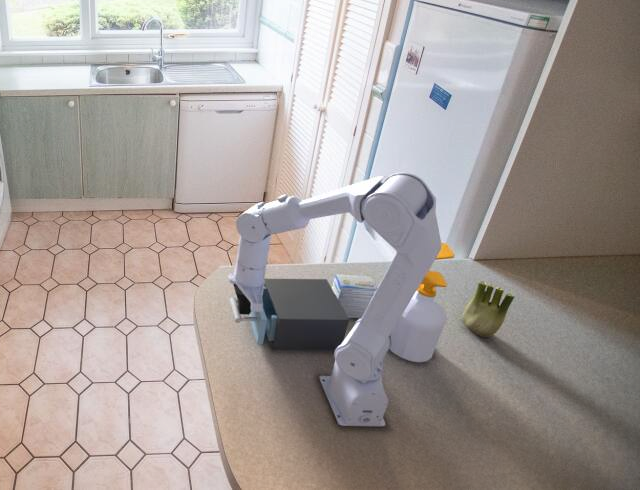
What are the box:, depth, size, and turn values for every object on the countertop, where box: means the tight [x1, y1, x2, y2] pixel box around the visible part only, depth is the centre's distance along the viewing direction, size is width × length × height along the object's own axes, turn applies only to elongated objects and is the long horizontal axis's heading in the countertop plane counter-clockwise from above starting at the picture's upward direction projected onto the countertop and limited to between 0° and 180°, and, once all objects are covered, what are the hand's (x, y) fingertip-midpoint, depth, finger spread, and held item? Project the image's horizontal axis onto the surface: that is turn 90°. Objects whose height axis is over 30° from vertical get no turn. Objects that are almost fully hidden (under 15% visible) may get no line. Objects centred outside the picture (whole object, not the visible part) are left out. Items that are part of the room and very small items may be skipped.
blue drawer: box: [228, 287, 278, 346], centre depth 95 cm, size 17×10×7 cm, turn 89°
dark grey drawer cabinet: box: [264, 278, 350, 352], centre depth 95 cm, size 14×12×9 cm
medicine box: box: [331, 274, 378, 320], centre depth 99 cm, size 8×4×9 cm, turn 84°
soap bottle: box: [389, 242, 455, 363], centre depth 88 cm, size 9×9×25 cm
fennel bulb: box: [461, 280, 516, 338], centre depth 94 cm, size 6×5×12 cm
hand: (244, 312), depth 95 cm, fingers closed, pressing on blue drawer
